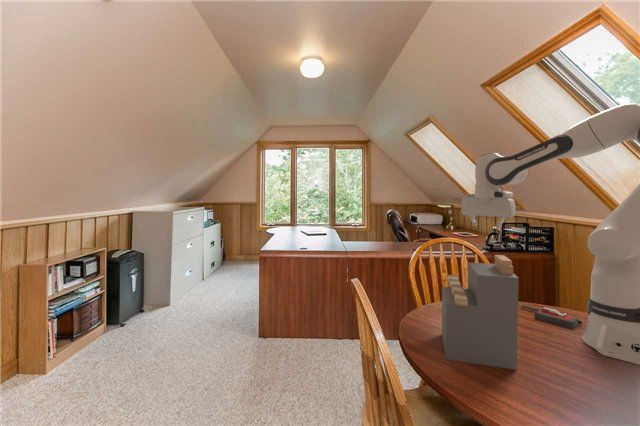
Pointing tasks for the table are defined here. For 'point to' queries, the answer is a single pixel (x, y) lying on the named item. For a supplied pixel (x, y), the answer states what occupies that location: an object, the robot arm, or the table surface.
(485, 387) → the table surface
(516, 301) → the grey stepped block
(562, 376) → the table surface
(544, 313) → the walkie-talkie
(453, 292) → the birch strip
